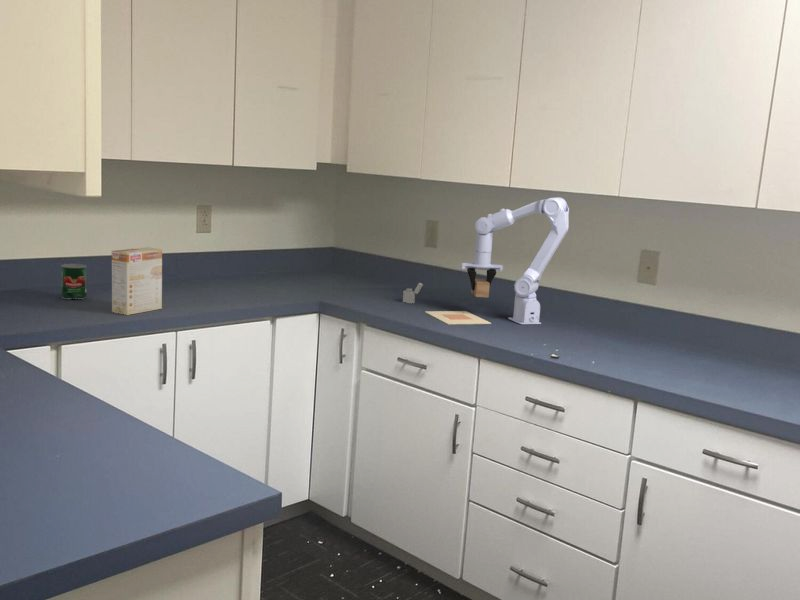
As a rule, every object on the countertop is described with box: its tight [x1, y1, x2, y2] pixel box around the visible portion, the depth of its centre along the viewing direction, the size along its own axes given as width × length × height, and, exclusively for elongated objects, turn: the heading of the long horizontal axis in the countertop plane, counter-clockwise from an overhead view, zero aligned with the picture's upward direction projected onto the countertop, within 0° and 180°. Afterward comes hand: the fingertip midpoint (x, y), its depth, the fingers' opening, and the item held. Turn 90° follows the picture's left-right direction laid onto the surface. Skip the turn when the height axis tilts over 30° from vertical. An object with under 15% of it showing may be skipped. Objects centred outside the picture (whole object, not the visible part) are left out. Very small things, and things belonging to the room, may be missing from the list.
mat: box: [424, 310, 492, 325], centre depth 276 cm, size 20×16×1 cm
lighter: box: [402, 282, 424, 304], centre depth 298 cm, size 7×2×8 cm, turn 68°
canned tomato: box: [60, 263, 88, 299], centre depth 267 cm, size 8×8×11 cm
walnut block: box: [470, 278, 491, 298], centre depth 282 cm, size 9×4×5 cm, turn 6°
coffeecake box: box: [111, 246, 163, 316], centre depth 253 cm, size 15×7×20 cm, turn 152°
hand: (480, 290), depth 282 cm, fingers closed on walnut block, 4 cm apart
